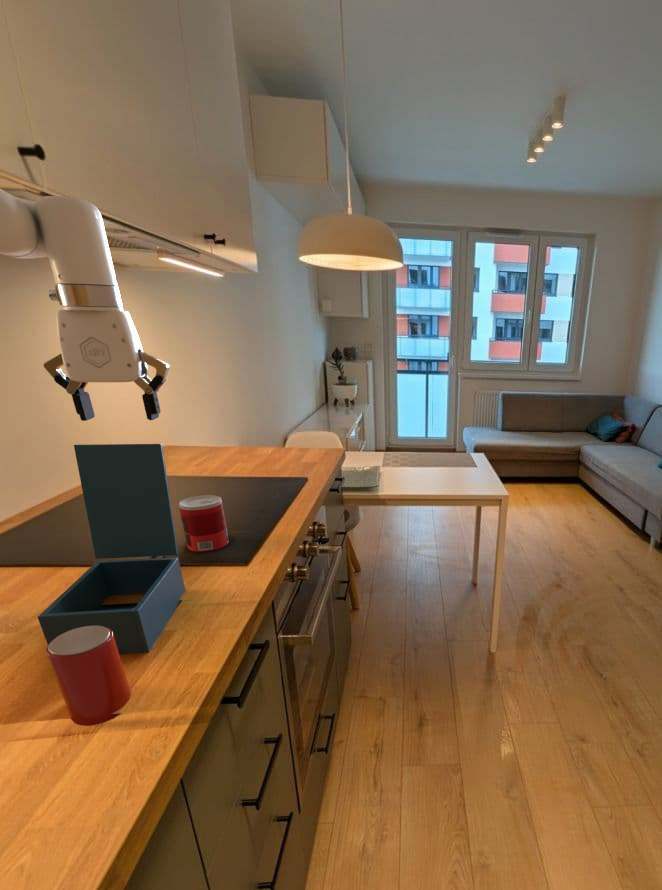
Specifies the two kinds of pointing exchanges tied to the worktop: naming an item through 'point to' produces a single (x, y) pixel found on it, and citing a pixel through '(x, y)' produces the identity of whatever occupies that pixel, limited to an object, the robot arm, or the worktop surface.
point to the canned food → (204, 523)
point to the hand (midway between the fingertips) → (121, 418)
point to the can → (89, 674)
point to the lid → (127, 500)
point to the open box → (127, 621)
